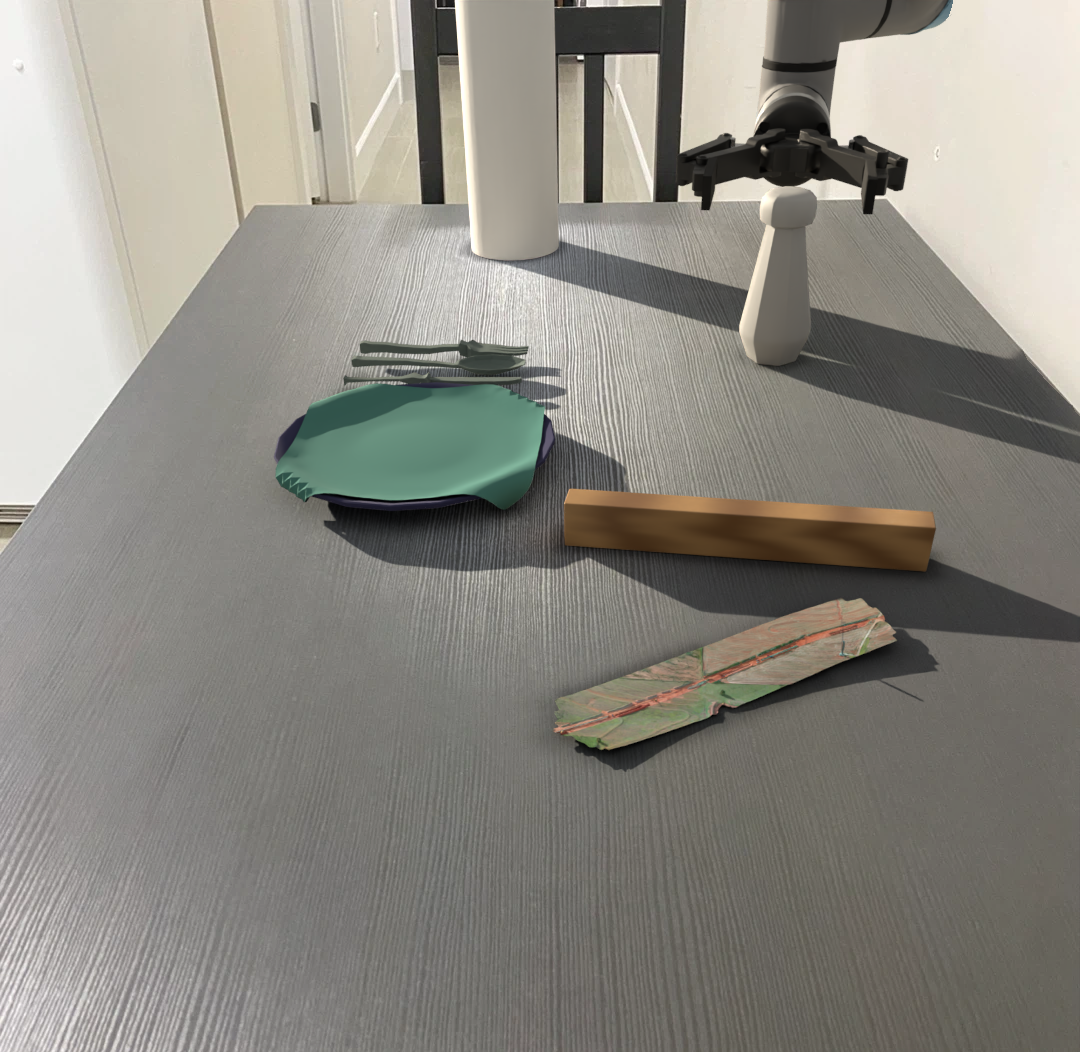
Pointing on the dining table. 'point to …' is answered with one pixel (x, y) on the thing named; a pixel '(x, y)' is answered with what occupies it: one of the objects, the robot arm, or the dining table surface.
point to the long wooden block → (750, 529)
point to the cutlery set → (419, 435)
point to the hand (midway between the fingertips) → (787, 195)
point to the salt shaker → (780, 280)
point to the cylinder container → (509, 125)
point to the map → (721, 674)
